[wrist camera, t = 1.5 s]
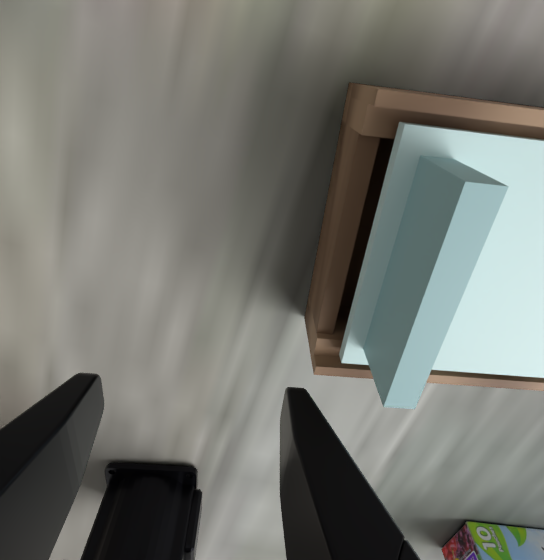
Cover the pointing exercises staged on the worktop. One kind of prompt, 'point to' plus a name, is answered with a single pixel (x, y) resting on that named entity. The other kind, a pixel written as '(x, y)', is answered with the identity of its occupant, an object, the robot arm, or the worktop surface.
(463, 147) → the lid
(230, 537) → the worktop surface
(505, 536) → the snack box
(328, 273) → the walnut box
